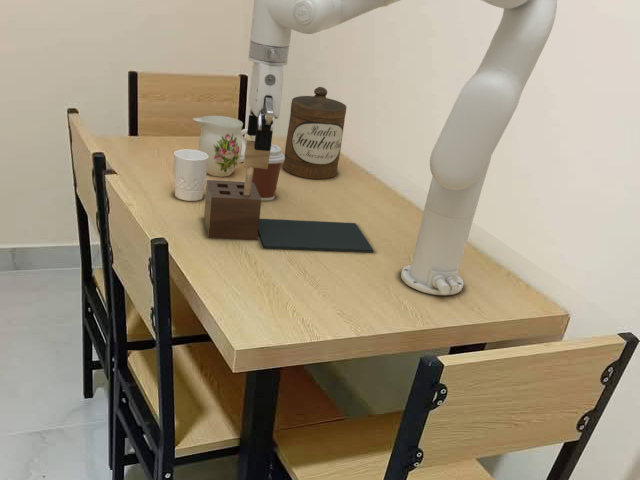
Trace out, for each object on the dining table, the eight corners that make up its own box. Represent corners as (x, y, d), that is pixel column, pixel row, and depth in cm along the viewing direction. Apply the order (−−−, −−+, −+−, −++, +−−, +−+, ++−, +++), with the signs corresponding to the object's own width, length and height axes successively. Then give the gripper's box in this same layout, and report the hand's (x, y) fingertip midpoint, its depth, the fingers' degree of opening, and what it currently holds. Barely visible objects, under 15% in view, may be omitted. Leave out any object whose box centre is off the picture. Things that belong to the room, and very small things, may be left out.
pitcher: (261, 177, 193) (267, 124, 186) (198, 181, 185) (202, 125, 177) (242, 163, 201) (247, 112, 194) (181, 166, 192) (184, 113, 185)
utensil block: (257, 239, 158) (261, 199, 153) (208, 237, 156) (211, 197, 151) (250, 221, 166) (254, 182, 162) (203, 219, 164) (206, 179, 159)
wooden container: (290, 178, 195) (301, 92, 183) (277, 160, 207) (287, 78, 195) (343, 180, 199) (357, 96, 187) (327, 162, 211) (340, 82, 199)
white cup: (200, 204, 171) (202, 162, 166) (167, 198, 172) (169, 156, 167) (209, 194, 178) (212, 152, 173) (178, 188, 179) (180, 147, 173)
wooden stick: (257, 236, 160) (271, 144, 150) (234, 234, 159) (247, 141, 148) (256, 233, 161) (270, 142, 151) (233, 231, 160) (246, 139, 150)
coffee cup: (287, 200, 181) (293, 151, 174) (256, 204, 176) (261, 154, 169) (266, 187, 187) (271, 140, 180) (235, 191, 182) (240, 142, 175)
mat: (373, 252, 159) (373, 250, 159) (264, 248, 154) (264, 245, 154) (354, 225, 172) (355, 223, 172) (253, 220, 167) (253, 218, 166)
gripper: (296, 65, 134) (284, 157, 143) (279, 46, 149) (269, 131, 158) (256, 60, 133) (246, 154, 142) (243, 42, 147) (234, 128, 156)
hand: (258, 142), depth 150 cm, fingers open, 9 cm apart
